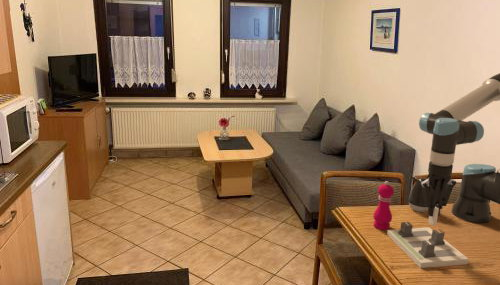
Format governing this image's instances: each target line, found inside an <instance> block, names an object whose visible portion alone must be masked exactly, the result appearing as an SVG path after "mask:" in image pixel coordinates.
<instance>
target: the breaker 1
mask: <svg viewBox="0 0 500 285" xmlns="http://www.w3.org/2000/svg"><path fill="white" fill-rule="evenodd" d="M413 226H414V225H413V224H412V223H410V222H409V221H402V222H401V224H400V228H399V229H400V231H398V233H399V234H400V235H401V236H402V237H407V236H413V234H412V228H413Z"/></svg>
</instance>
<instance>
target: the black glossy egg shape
mask: <svg viewBox="0 0 500 285" xmlns="http://www.w3.org/2000/svg"><path fill="white" fill-rule="evenodd" d="M411 179H412V181H414V184H413V186H412V187H411V189H410V192H409V195H408V199H407V201H408V205H409V207H410V208H411V209H412V210H413V211H414V212H417V213H425V212H428V208H429V207H427V206H426V205H424V201H423V191H422V186H421V184H420V182H421V181H425V180H426V179H427V177H426V178H425V177H421V178H418V179H417V178H415V176H412V177H411ZM429 192H430V184H429Z"/></svg>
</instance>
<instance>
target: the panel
mask: <svg viewBox="0 0 500 285" xmlns="http://www.w3.org/2000/svg"><path fill="white" fill-rule="evenodd" d="M400 229H401V228H399V229H396V228H395V229H388V230H386V231H387V232H386V233H387V234H386V235H387V236H388V237H389V238H390V239H391V240H392V241H393V242H394V243H395V244H396V246H397V247H399V248H400V249H401V251H403V252H404V253H405V254H406V255H407V256H408V257H409V258H410V259H411V261H413V262H414V263H415V264H416V265H417V266H418V267H419V269H424V268H436V267H449V266H461V265H468V264H469V258H468V256H466V255H464V254H463V253H462V252H460V251H459V250H458V249H457V248H456V247H455V246H454V245H452V244H451V243H449V242H448V241H447V240H446V239H444V240H443V241H444V242H445V244H439V245H435V248H434V253H435V254H436V255H435V256H431V257H423V256H422V255H421V254H420V253H419V250H421V247H422V241H429V239H430V238H431V236H432V230H433V229H432V228H431V227H429V226H425V227H412V234H413V236H407V237H402V236H401V235H400V234H399V233H398V231H400Z"/></svg>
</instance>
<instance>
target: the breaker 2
mask: <svg viewBox="0 0 500 285" xmlns="http://www.w3.org/2000/svg"><path fill="white" fill-rule="evenodd" d="M434 248H435V244H434V243H433V242H432V241H430V240H429V241H422V247H421V250H419V253H420V254H421V255H422V256H423V257H431V256H435V255H436V254H435V253H434Z"/></svg>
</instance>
